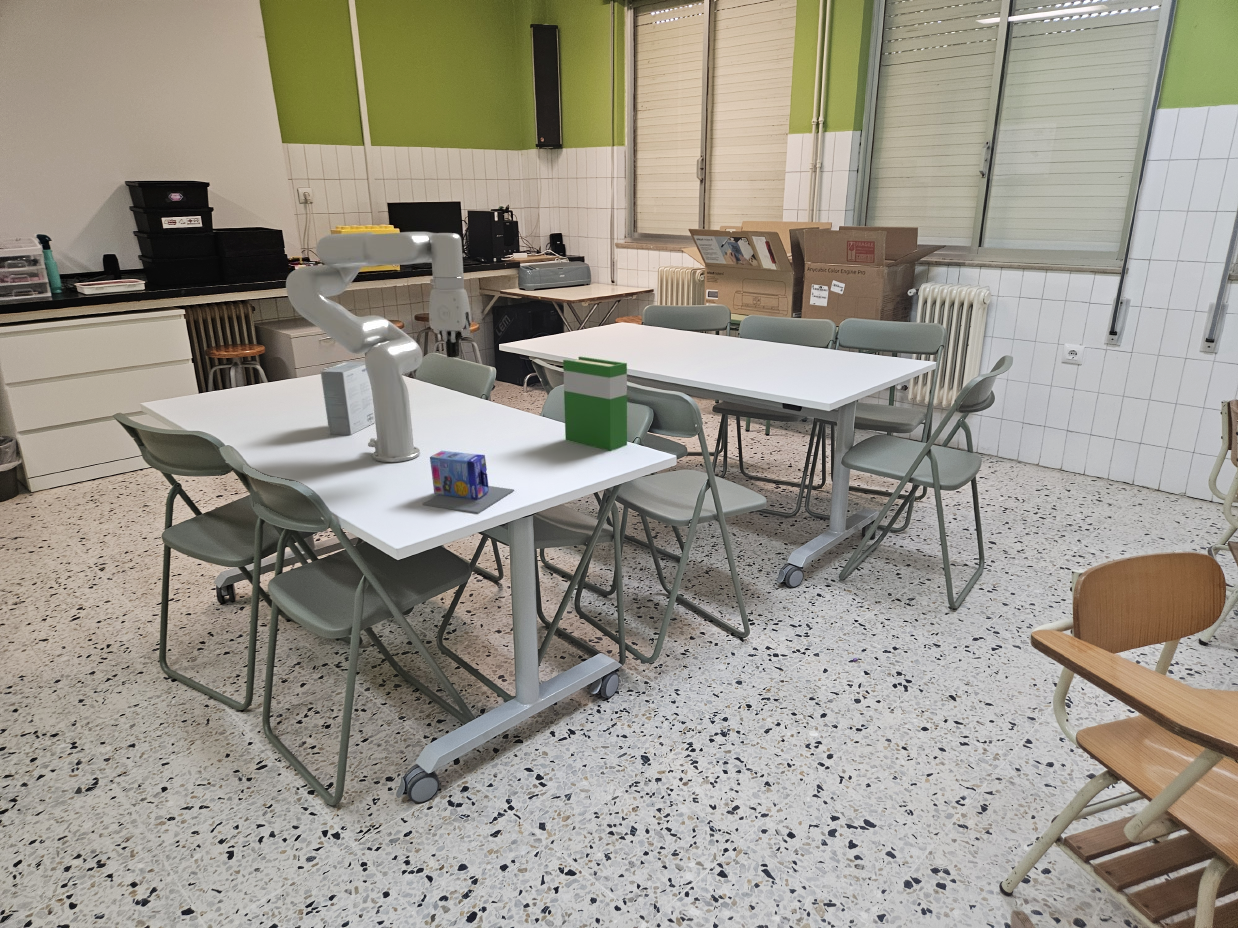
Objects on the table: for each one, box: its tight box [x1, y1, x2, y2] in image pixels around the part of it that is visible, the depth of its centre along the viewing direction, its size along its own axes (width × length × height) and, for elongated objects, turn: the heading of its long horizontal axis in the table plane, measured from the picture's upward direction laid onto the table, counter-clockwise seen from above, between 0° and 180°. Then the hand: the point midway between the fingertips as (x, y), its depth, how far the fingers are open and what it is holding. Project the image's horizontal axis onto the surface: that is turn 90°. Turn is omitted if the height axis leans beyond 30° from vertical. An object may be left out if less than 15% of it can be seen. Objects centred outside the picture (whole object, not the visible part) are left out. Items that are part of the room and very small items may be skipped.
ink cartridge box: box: [429, 450, 490, 500], centre depth 179 cm, size 10×6×14 cm
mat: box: [422, 485, 515, 515], centre depth 180 cm, size 15×16×1 cm
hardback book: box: [562, 356, 628, 452], centre depth 220 cm, size 18×7×24 cm, turn 50°
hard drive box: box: [320, 361, 375, 436], centre depth 237 cm, size 16×8×20 cm, turn 168°
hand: (453, 356), depth 197 cm, fingers closed
